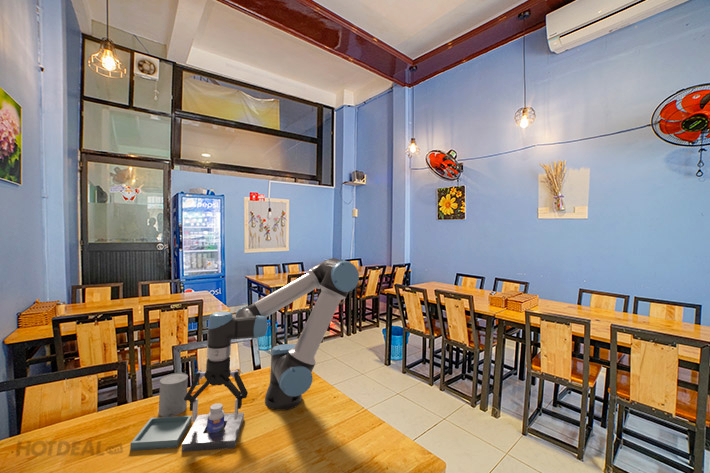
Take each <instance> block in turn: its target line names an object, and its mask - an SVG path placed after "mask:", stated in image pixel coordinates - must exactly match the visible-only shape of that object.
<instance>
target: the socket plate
mask: <svg viewBox="0 0 710 473" xmlns="http://www.w3.org/2000/svg"><path fill="white" fill-rule="evenodd" d="M208 414H209V413H207V414H205V413H204V414H197V418H196V420H195V422H193V424H192V426H191V427H190V429H189V431H188V433H187V435H186V436H185V438H184V440H183V442H182V443H181V452H182V453H184V452H186V453H187V452H201V451H213V450H228V449H229V450H230V449H235V448H236V445H237V441H238V438H239V435H240V432H241V429H242V425H243V423H244V417H245V412H238V417H237V420H234V416H235V412H230V413H229V412H228V413H225V412H224V431H223V432H217V433H207V418H208Z"/></svg>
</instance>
